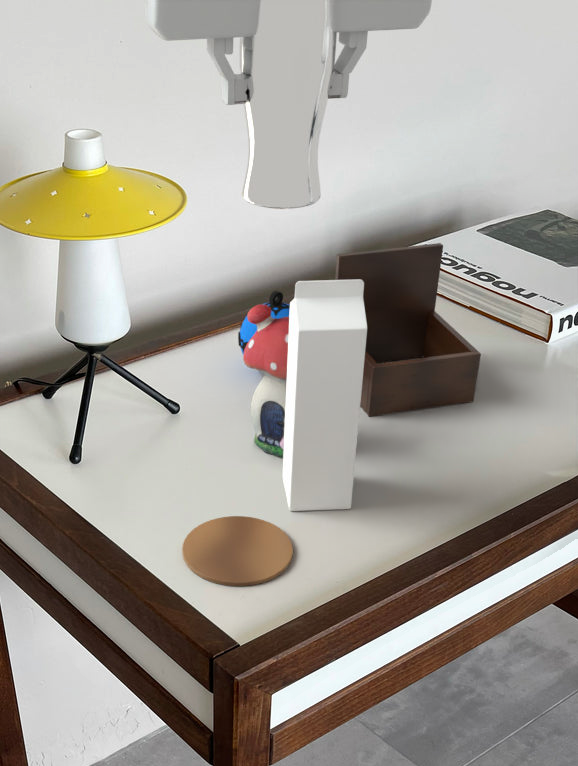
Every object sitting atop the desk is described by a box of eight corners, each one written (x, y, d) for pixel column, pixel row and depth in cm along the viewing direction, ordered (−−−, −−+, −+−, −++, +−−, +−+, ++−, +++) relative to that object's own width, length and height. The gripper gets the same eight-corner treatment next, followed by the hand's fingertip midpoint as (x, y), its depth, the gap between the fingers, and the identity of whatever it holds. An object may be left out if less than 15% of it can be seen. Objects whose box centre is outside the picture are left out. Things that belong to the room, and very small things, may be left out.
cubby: (426, 353, 124) (440, 242, 116) (473, 402, 114) (492, 284, 106) (329, 366, 122) (336, 253, 113) (368, 416, 112) (380, 297, 103)
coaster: (273, 512, 97) (273, 508, 97) (308, 575, 89) (308, 572, 89) (171, 528, 95) (171, 525, 95) (197, 594, 87) (197, 591, 87)
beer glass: (218, 195, 79) (219, -20, 70) (280, 177, 83) (289, -29, 74) (281, 218, 75) (290, -8, 66) (344, 197, 79) (361, -19, 70)
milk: (351, 510, 97) (372, 294, 84) (288, 512, 97) (300, 295, 84) (340, 475, 102) (359, 266, 89) (281, 477, 102) (291, 267, 89)
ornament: (272, 395, 116) (275, 313, 110) (223, 369, 121) (223, 290, 115) (325, 372, 120) (330, 292, 115) (275, 347, 126) (278, 271, 120)
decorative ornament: (231, 438, 108) (232, 306, 99) (270, 415, 112) (274, 287, 103) (300, 469, 103) (307, 334, 94) (338, 444, 107) (349, 312, 98)
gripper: (149, -115, 62) (155, 119, 70) (456, -121, 66) (429, 101, 74) (130, -122, 67) (138, 98, 75) (417, -127, 71) (395, 82, 79)
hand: (285, 99), depth 75 cm, fingers closed on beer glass, 6 cm apart
